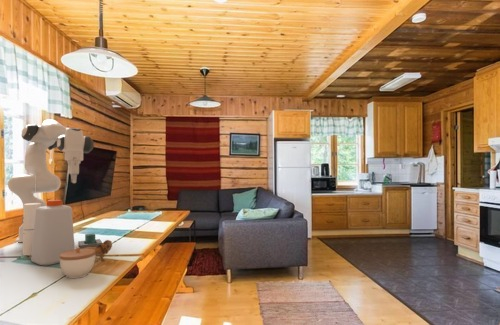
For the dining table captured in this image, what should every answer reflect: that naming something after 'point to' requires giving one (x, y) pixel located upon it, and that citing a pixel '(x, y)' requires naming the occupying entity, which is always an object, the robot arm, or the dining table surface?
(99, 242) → the bore block
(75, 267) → the lidded bowl
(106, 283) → the dining table surface
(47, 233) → the plastic bottle
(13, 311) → the dining table surface
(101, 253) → the lion figurine
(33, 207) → the cylindrical container
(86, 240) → the teal pin
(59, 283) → the dining table surface
